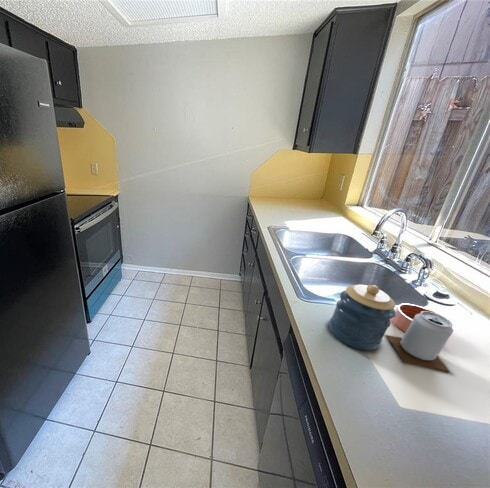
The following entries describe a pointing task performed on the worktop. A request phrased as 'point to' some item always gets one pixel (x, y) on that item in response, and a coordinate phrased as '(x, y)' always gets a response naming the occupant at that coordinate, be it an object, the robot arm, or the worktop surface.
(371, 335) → the canister
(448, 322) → the can
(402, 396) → the worktop surface
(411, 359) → the mat
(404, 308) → the bowl
